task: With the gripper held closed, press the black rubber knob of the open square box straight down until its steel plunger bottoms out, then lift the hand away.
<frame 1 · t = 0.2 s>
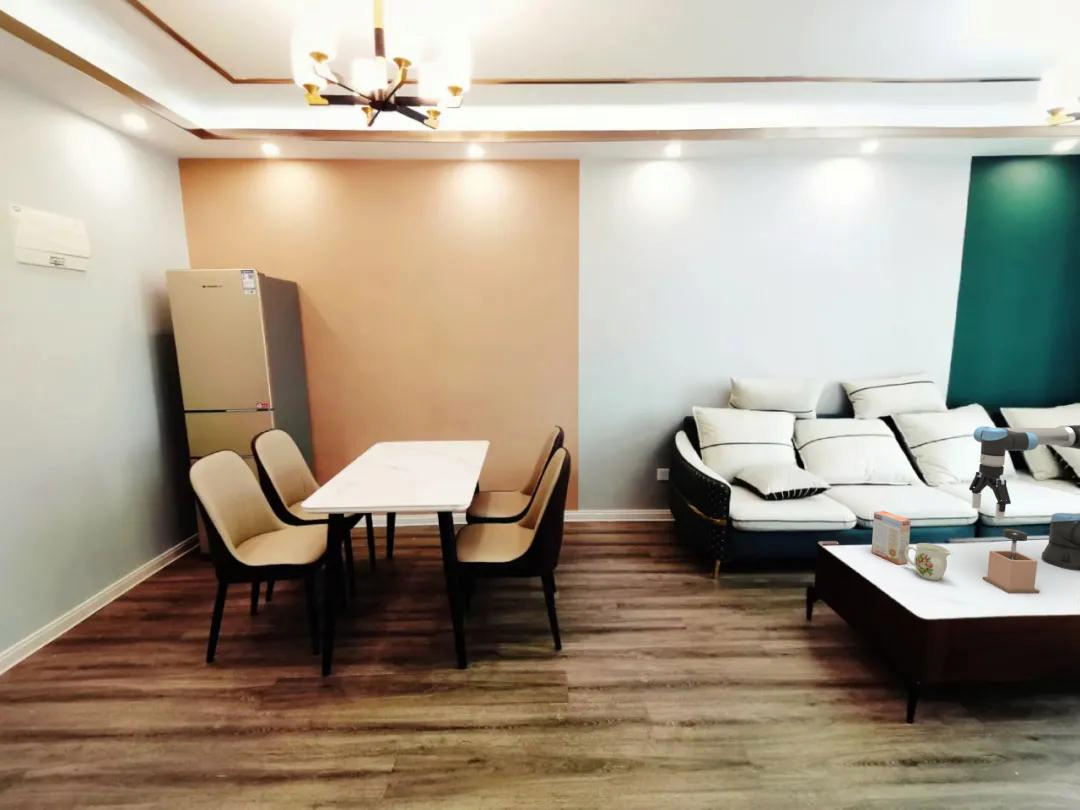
hand: (987, 513, 206), 28 cm above the table, fingers open, 13 cm apart
pitcher: (926, 576, 211), on the table
plunger: (1013, 549, 199), point 16 cm above the table, slide at 6.0 cm
open square box: (1009, 586, 201), on the table
cracker box: (889, 558, 229), on the table
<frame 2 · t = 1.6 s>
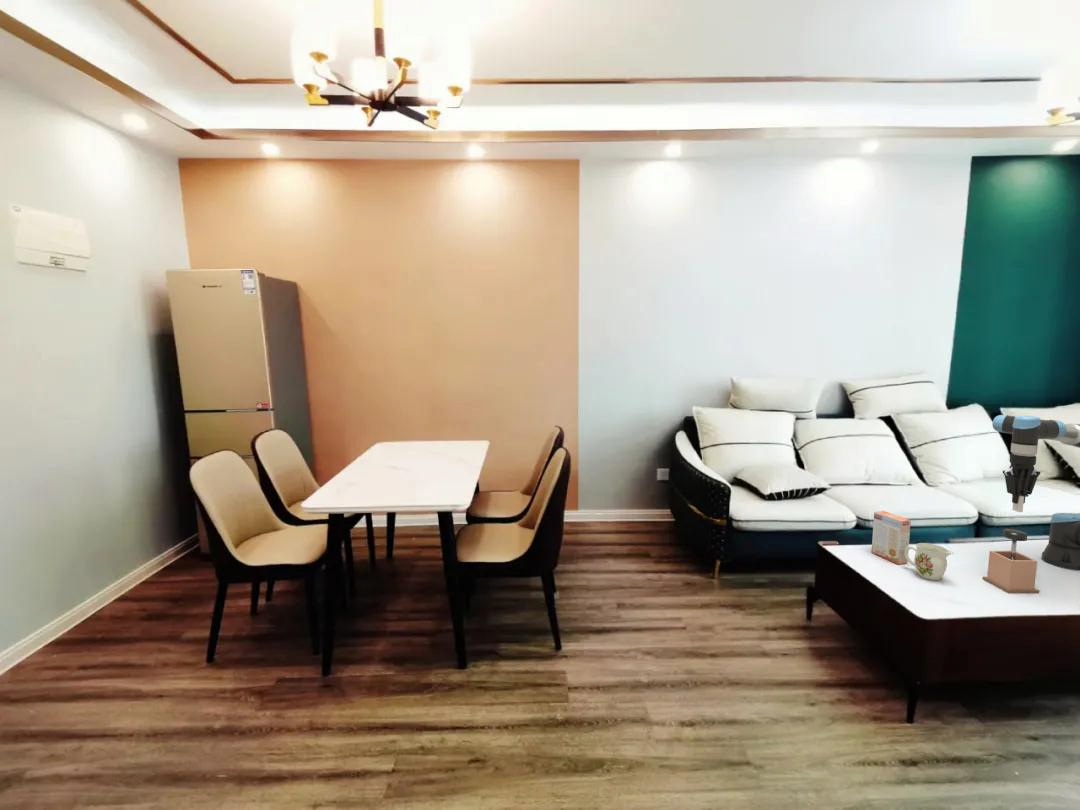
hand: (1017, 510, 197), 32 cm above the table, fingers closed
nothing on the table moved.
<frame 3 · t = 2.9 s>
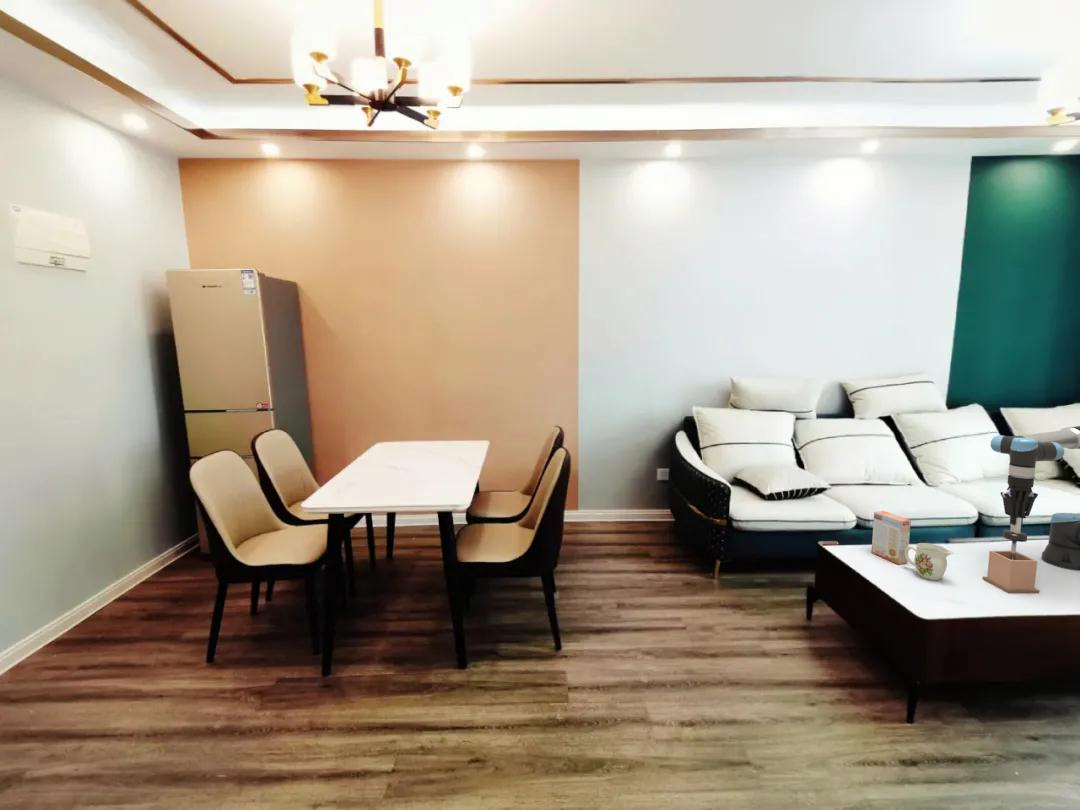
hand: (1015, 532, 198), 23 cm above the table, fingers closed
plunger: (1013, 550, 199), point 15 cm above the table, slide at 5.6 cm, touching gripper
everything else where it was.
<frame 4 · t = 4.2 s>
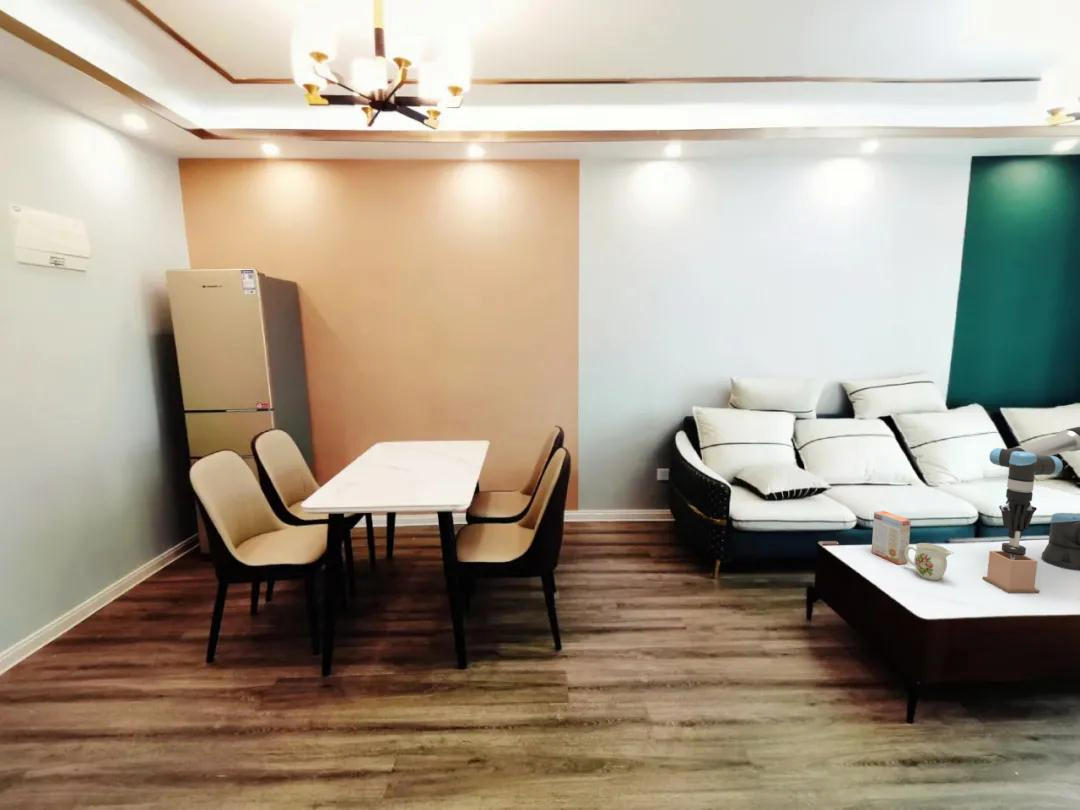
hand: (1013, 545, 199), 18 cm above the table, fingers closed
plunger: (1012, 563, 200), point 10 cm above the table, slide at -0.1 cm, touching gripper
everything else where it was.
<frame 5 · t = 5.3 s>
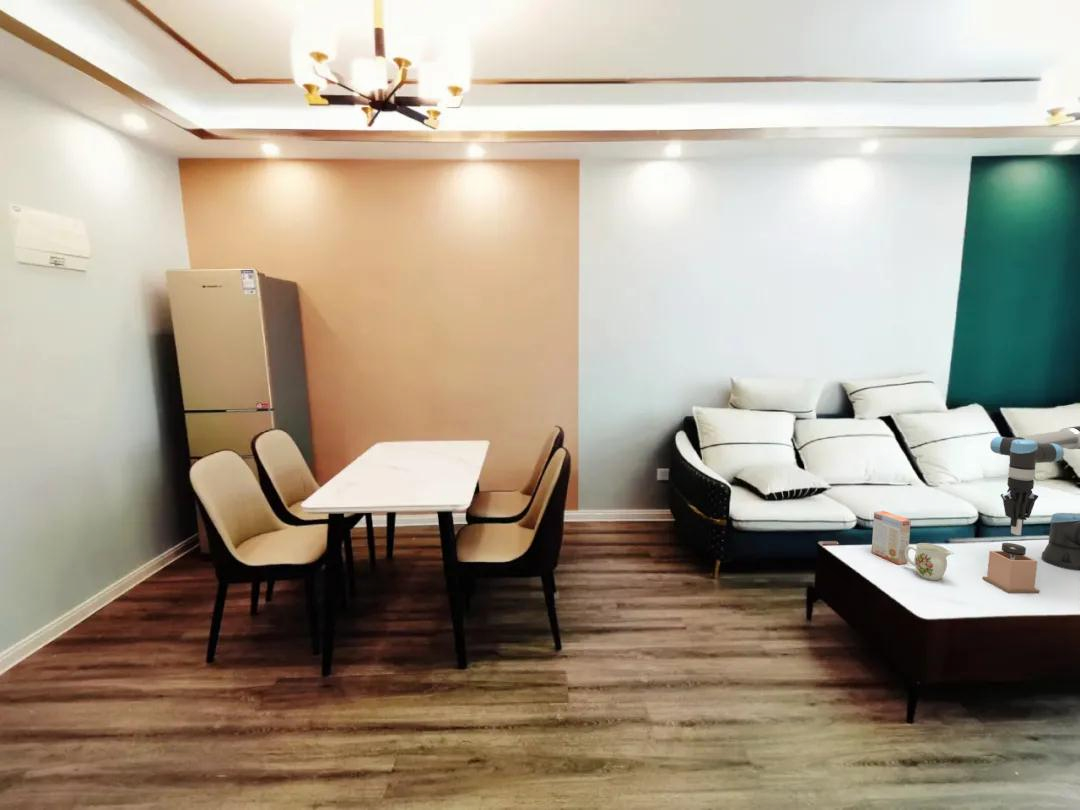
hand: (1015, 534, 198), 23 cm above the table, fingers closed
plunger: (1012, 563, 200), point 10 cm above the table, slide at -0.1 cm
everything else where it was.
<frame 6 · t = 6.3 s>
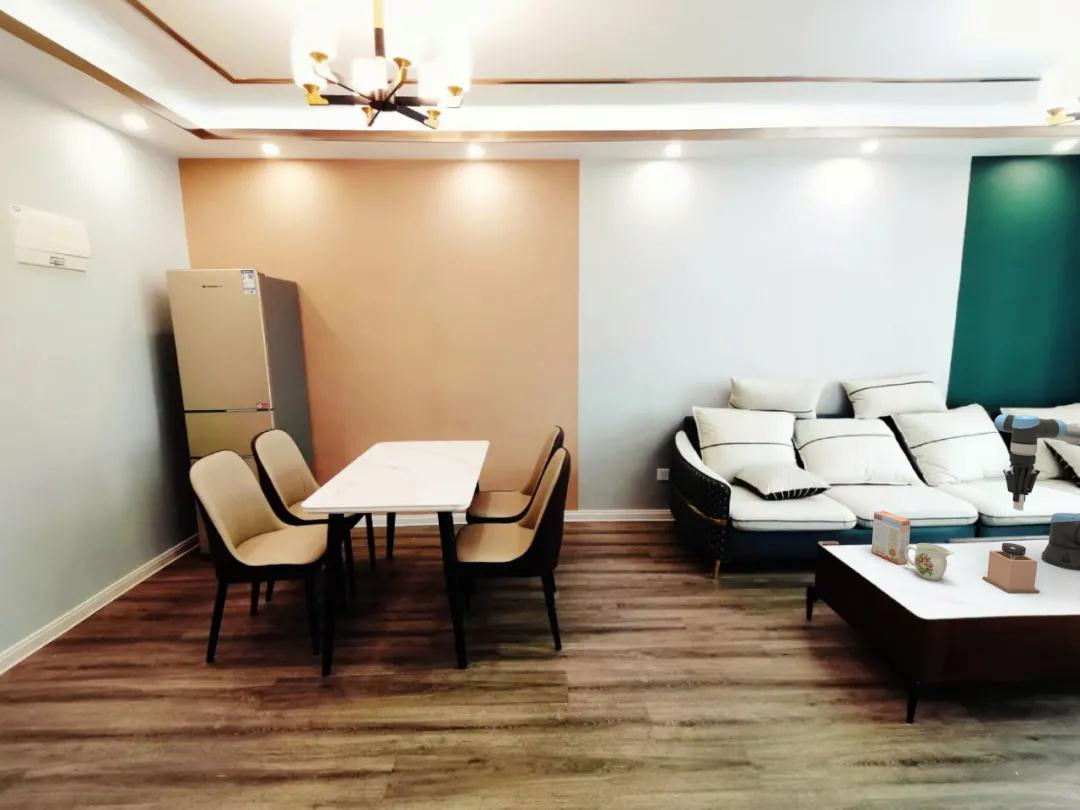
hand: (1018, 509, 200), 32 cm above the table, fingers closed
nothing on the table moved.
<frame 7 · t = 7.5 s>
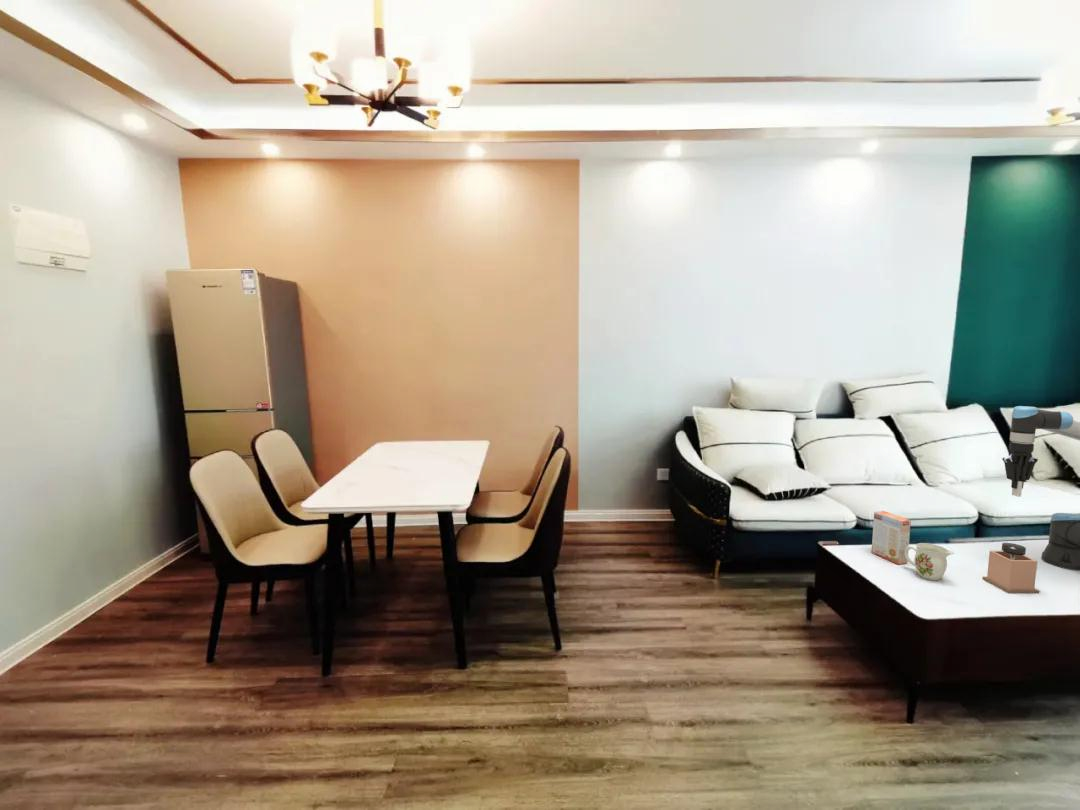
hand: (1016, 495, 211), 34 cm above the table, fingers closed
nothing on the table moved.
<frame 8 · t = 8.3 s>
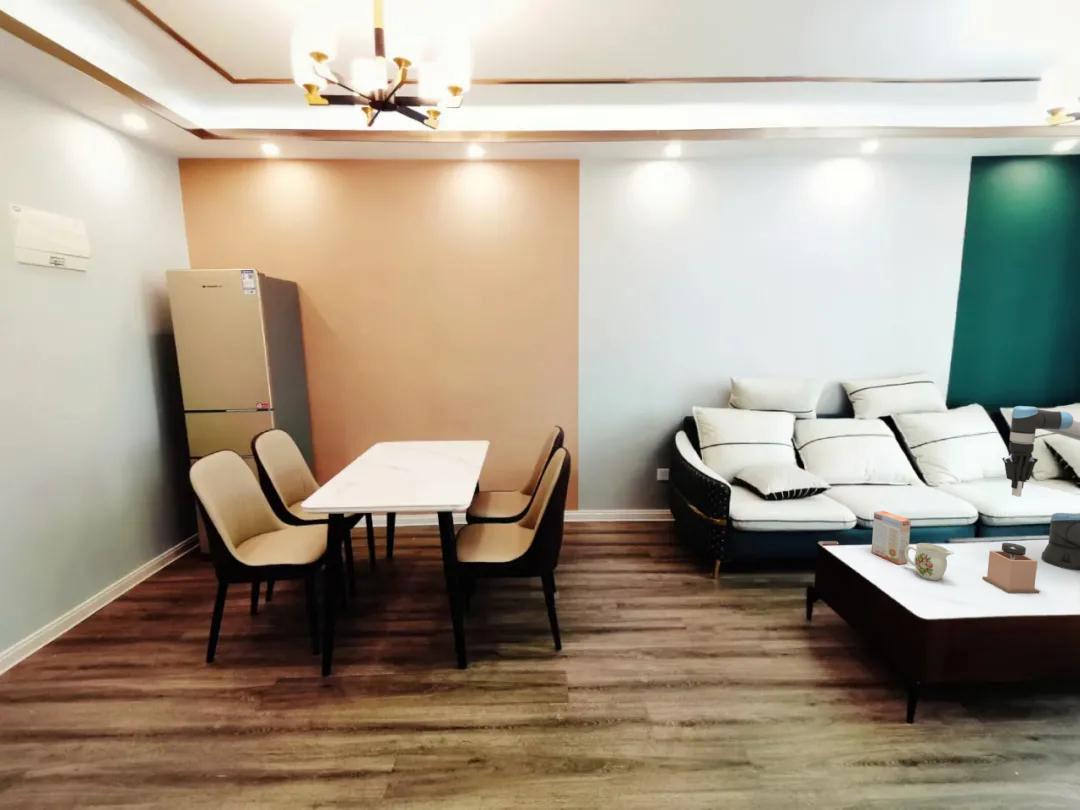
hand: (1016, 495, 211), 34 cm above the table, fingers closed
nothing on the table moved.
at the end: plunger slide at -0.1 cm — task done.
